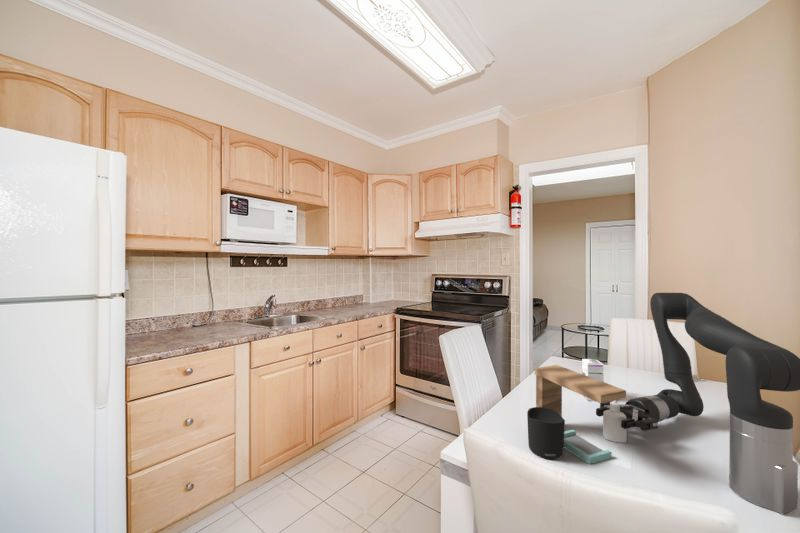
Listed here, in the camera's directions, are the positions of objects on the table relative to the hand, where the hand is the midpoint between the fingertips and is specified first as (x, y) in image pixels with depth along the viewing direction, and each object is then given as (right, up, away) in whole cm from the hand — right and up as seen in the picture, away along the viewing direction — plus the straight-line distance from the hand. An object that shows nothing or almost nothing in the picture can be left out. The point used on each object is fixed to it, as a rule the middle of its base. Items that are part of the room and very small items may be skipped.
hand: (609, 418), depth 92 cm
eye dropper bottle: (+2, -7, +1) cm, 7 cm away
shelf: (-11, -7, -2) cm, 13 cm away
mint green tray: (-10, -7, -4) cm, 13 cm away
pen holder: (-21, -7, -5) cm, 23 cm away
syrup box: (+13, -7, +29) cm, 33 cm away
